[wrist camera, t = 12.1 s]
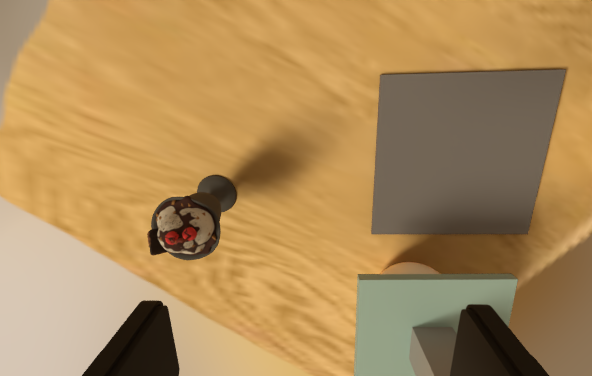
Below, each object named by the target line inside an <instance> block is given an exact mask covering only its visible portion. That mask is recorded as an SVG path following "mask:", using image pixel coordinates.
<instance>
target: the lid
mask: <svg viewBox="0 0 592 376" xmlns="http://www.w3.org/2000/svg"><path fill="white" fill-rule="evenodd" d="M517 282H518V279H517V278H516V277H515V276H513V275H512V274H358V280H357V308H356V335H355V363H354V376H450V371H451V365H452V360H453V354H454V348H455V342H456V336H457V331H458V325H459V319H460V313H461V310H462V309H466V307H467V305H469V304H488V305H490V306H491V307H492V308H493V309H494V310H495V311H496V313H497V314H498V315H499V316H500V318H501V319H502V320H503V321H504V323H505V324H506V325H507V326H508V325H509V320H510V315H511V311H512V306H513V301H514V296H515V291H516V287H517Z"/></svg>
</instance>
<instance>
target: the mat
mask: <svg viewBox="0 0 592 376" xmlns="http://www.w3.org/2000/svg"><path fill="white" fill-rule="evenodd" d="M565 72H566V69H564V70H530V71H496V72H462V73H428V74H394V75H380V87H379V105H378V123H377V141H376V159H375V177H374V195H373V213H372V231H371V233H372V234H528V231H529V226H530V222H531V218H532V214H533V209H534V205H535V201H536V196H537V192H538V188H539V184H540V179H541V175H542V171H543V166H544V162H545V158H546V154H547V149H548V145H549V141H550V136H551V132H552V128H553V124H554V119H555V115H556V111H557V106H558V102H559V98H560V94H561V89H562V85H563V81H564V76H565Z"/></svg>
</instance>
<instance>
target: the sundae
mask: <svg viewBox="0 0 592 376" xmlns="http://www.w3.org/2000/svg"><path fill="white" fill-rule="evenodd" d="M235 200H236V191H235V188H234V186H233V185H232V183H231V182H230V181H229V180H227V179H226V178H224V177H221V176H217V175H213V176H208V177H206V178H204V179H203V180H202V181H201V182H200V184H199V186H198V189H197V193H195V194H192V195H190V196H185V197H171V198H168V199H166V200H165V201H163V202H162V203H161V204H160V205H159V206H158V207H157V209H156V210H155V212H154V214H153V217H152V223H151V227H152V230H150V231H149V232H148V234H147V235H148V243H149V247H150V254H151V255H157V254H161V253H165V252H168V253H170V254H171V255H173V256H174V257H176V258H179V259H183V260H195V259H200V258H202V257H205V256H207V255H209V254H210V253H212V252H213V251H214V250H215V248H216V247H217V245H218V243H219V239H220V223H219V221H220V217H221V212H225V211H227V210H229V209H230V208H231V207H232V206H233V205H234V203H235Z"/></svg>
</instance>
